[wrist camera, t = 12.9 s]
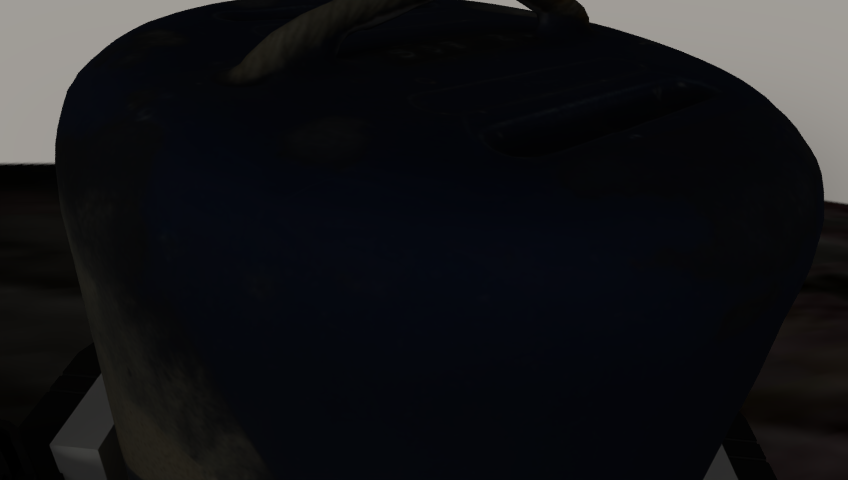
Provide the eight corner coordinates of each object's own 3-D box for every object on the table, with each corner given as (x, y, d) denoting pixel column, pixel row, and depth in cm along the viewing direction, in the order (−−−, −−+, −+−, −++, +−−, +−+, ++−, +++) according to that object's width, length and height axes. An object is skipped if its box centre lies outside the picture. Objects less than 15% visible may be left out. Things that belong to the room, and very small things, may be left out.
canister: (174, 581, 18) (-1, -103, 8) (444, 468, 22) (529, -74, 13) (261, 1053, 11) (-162, 185, 2) (630, 757, 15) (1125, 39, 6)
